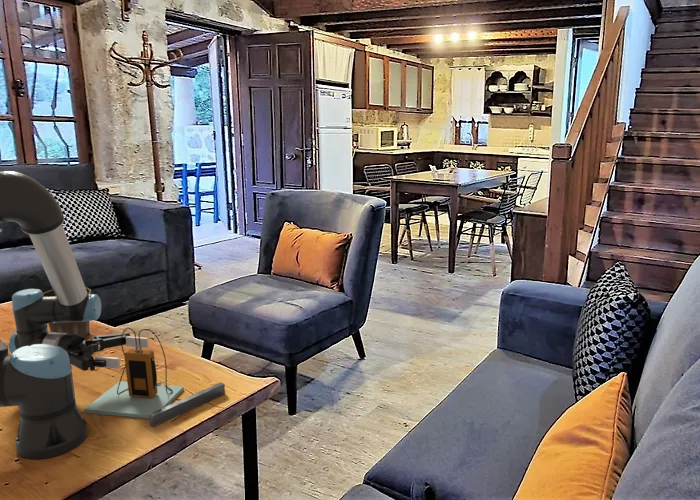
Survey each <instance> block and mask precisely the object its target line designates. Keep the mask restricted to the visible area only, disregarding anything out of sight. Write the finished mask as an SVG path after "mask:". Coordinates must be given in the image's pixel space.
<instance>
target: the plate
mask: <svg viewBox="0 0 700 500" xmlns="http://www.w3.org/2000/svg"><path fill="white" fill-rule="evenodd" d="M119 382H120V380H119V381H118V382H117V383H115V384H114V385H113V386H111V387H110V388H109V389H107V391H105V392H104V393H103V394H101V395H100V396H99V397H97V399H95V400H94V401H93V402H91V403H90V404H89V405H87V406H86V407H85V408H83V409H84V410H83V411H84V414H96V415H105V416H107V415H108V416H117V417H126V418H137V419H138V418H139V419H148V420H150V418H149V414H151V413H153V412H155V411H157V410H160V409H162V408H164V407H166V406H169V405H171V404H172V402H173V401H174V400H175V399H176V398H177V397H179V395H180V394H181V393H182V392H183V391H184V385H183V386H182V385H181V386H180V385H169V384H167V386H168V387H170V388H171V390H172V391H173V393H171V392H172V391H171V390H169V389H168V388H167V392H166V386H165V385H166V384H165V385H164V384H159V385H157V391H158V393H157V394H156V395H155V396H154V397H153V398H146V397H131V396H129V391H128V390H126V389H128V383H127V381H122V380H121V382H120V385H119ZM118 385H119V389H118ZM117 389H118V393H120V392H122V391H124V390H125V391H124V392H122V393H120V394H117ZM167 393H168V394H169V393H171V394H169V395H168V394H167Z"/></svg>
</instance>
